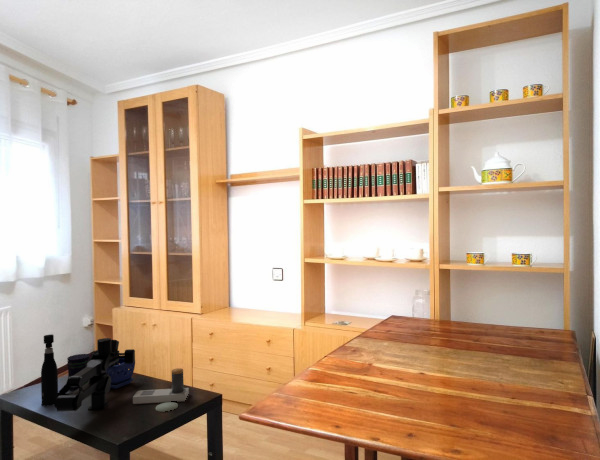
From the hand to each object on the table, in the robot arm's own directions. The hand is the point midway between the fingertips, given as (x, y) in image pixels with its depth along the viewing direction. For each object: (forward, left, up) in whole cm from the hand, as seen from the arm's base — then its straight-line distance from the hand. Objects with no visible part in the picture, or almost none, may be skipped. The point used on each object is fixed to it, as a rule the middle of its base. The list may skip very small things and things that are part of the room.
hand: (121, 352), depth 211 cm
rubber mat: (-30, -28, -16) cm, 45 cm away
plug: (-20, -31, -17) cm, 40 cm away
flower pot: (+3, +4, -17) cm, 17 cm away
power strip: (-20, -24, -16) cm, 35 cm away
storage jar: (+3, +22, -17) cm, 27 cm away
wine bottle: (-17, +26, -17) cm, 35 cm away
